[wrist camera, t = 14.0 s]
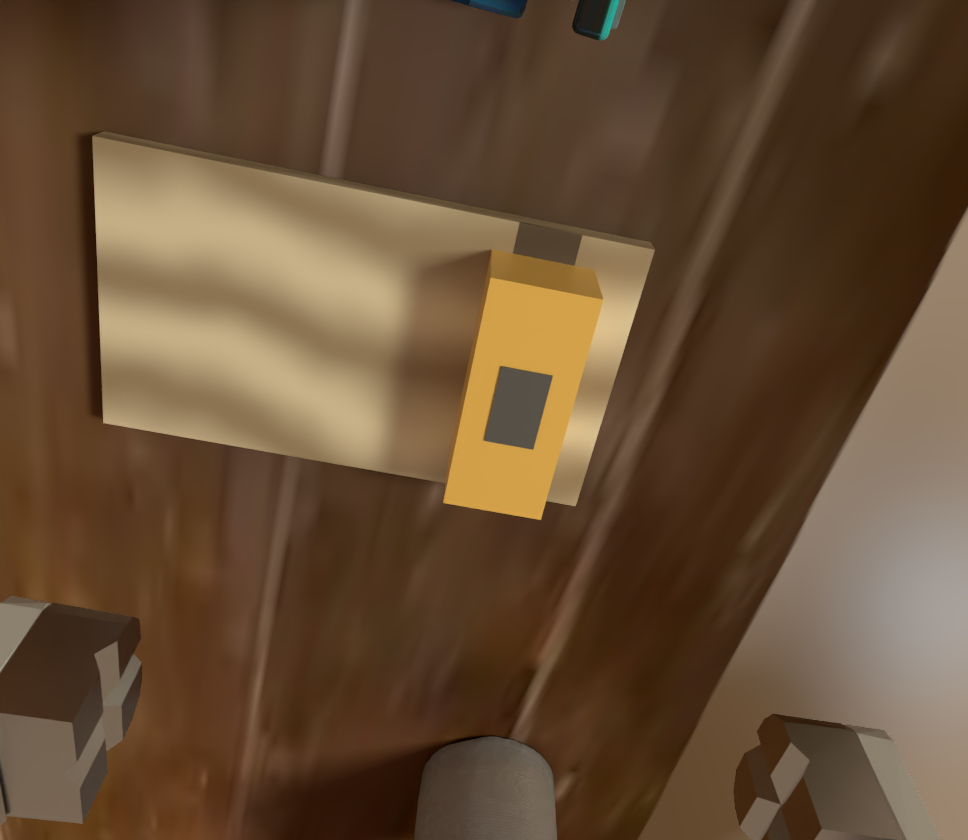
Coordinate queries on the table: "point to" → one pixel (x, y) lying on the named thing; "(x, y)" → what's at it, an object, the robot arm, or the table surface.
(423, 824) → the pillar candle
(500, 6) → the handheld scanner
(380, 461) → the plywood panel
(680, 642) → the table surface
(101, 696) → the robot arm
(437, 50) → the table surface
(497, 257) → the block
